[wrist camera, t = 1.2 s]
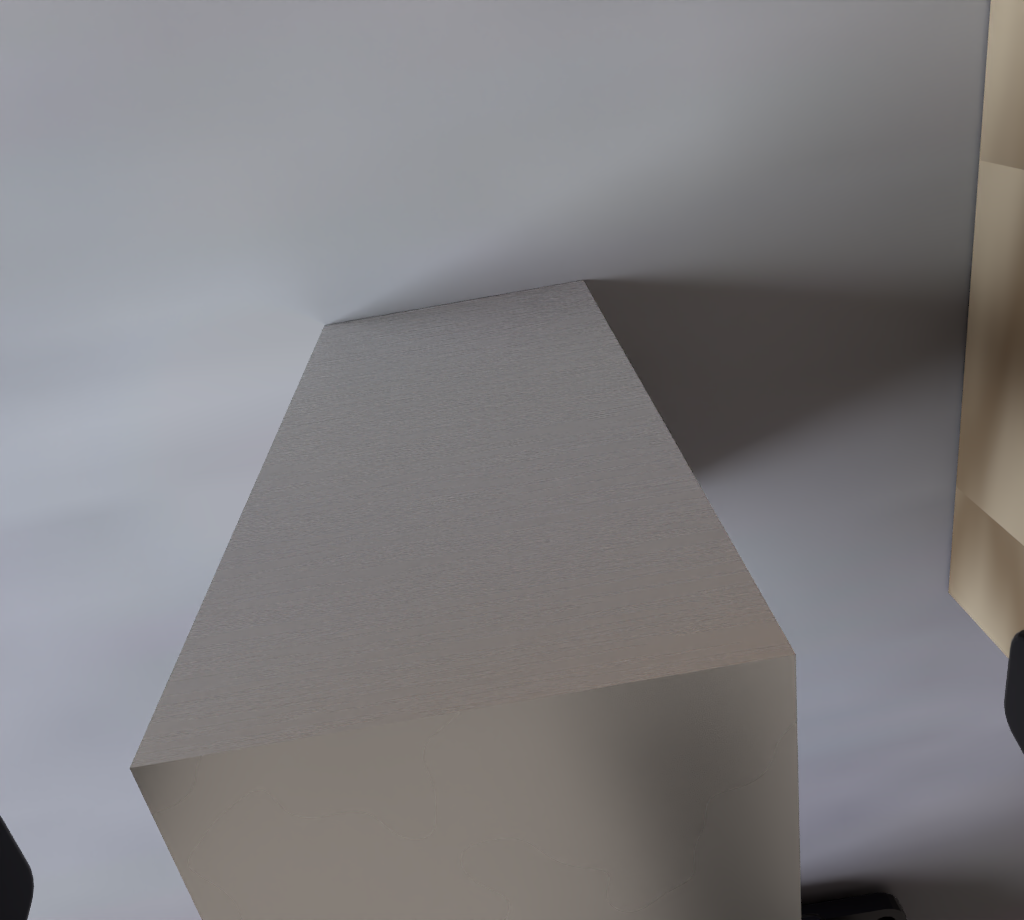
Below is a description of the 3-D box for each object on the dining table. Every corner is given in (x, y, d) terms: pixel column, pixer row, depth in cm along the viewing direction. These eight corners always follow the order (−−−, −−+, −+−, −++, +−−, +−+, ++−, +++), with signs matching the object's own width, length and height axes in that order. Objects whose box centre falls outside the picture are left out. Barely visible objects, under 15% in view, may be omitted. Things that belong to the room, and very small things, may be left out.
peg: (611, 507, 15) (804, 1053, 7) (383, 546, 15) (305, 1137, 7) (583, 280, 13) (795, 653, 5) (324, 325, 13) (129, 767, 5)
